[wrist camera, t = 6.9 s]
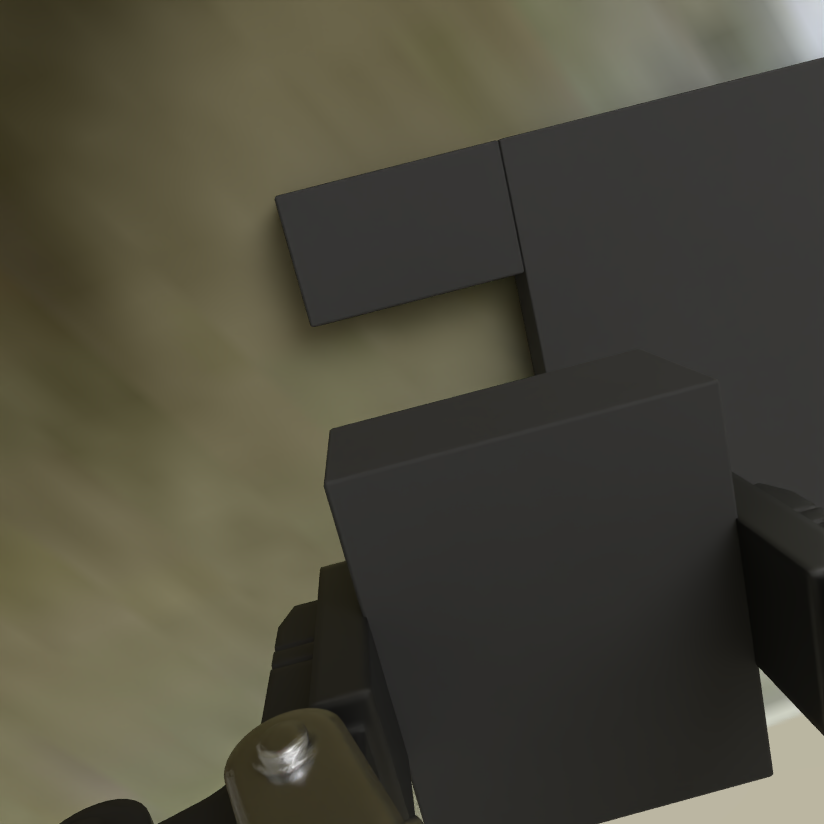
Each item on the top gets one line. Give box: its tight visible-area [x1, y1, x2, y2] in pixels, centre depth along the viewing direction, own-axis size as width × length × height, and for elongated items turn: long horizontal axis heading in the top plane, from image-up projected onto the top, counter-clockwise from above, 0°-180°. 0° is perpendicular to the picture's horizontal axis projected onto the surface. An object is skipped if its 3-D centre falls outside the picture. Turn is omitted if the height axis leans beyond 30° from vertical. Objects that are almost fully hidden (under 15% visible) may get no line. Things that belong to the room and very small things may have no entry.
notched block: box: [275, 57, 824, 509], centre depth 21 cm, size 14×18×2 cm
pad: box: [324, 349, 773, 824], centre depth 11 cm, size 6×5×2 cm
